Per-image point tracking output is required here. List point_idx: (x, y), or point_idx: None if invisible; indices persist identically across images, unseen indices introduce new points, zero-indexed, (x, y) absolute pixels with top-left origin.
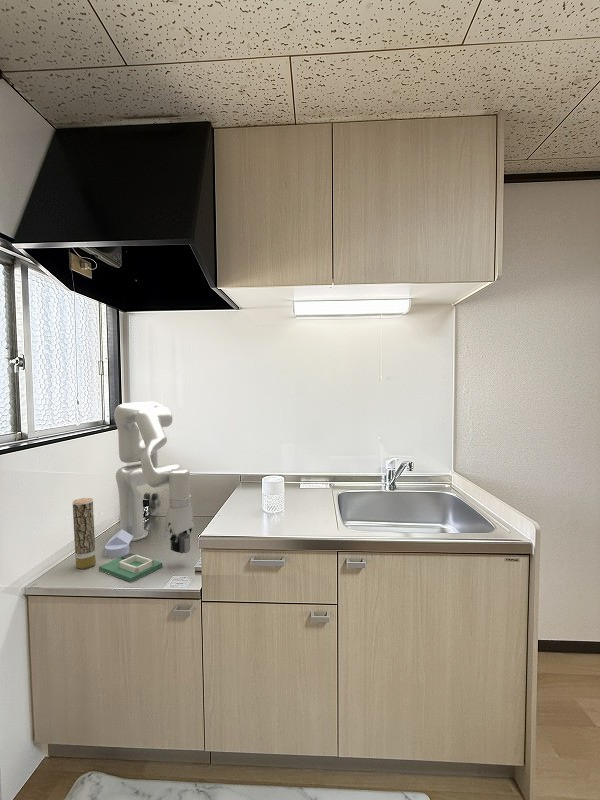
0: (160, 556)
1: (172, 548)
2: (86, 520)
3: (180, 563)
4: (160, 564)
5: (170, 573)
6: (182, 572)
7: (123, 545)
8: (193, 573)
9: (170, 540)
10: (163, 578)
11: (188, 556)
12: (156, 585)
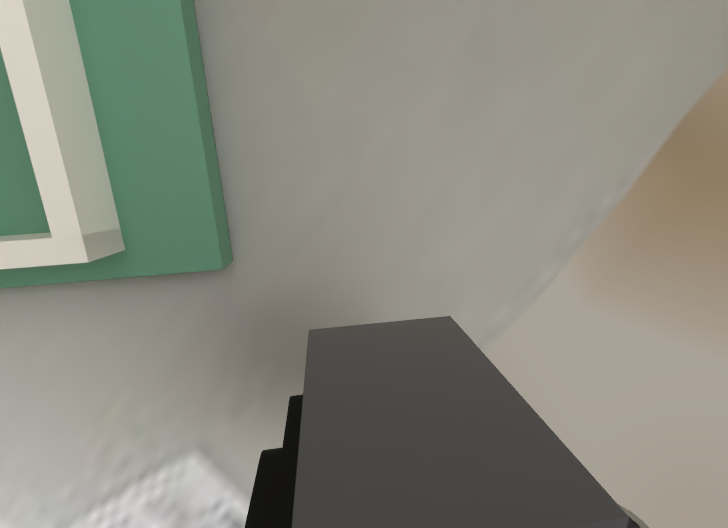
0: (363, 42)
1: (261, 457)
2: None
3: None
4: (197, 270)
5: (202, 409)
6: None
7: None
8: None
9: (301, 423)
10: (113, 436)
11: (497, 273)
12: (9, 488)
